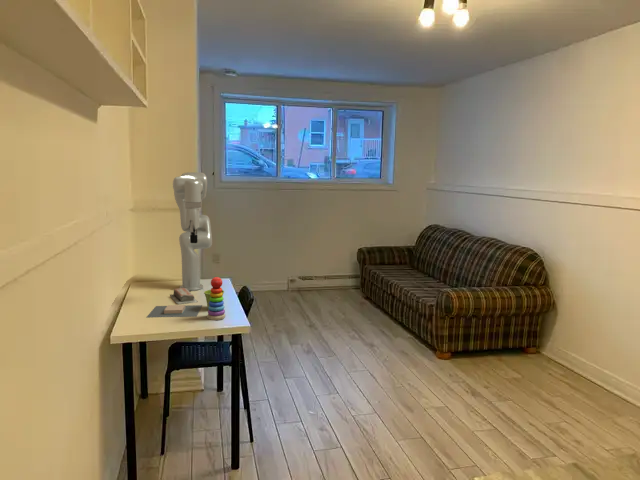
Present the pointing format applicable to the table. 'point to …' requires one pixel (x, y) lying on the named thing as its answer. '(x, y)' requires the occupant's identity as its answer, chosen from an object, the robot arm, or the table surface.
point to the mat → (189, 312)
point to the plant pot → (207, 294)
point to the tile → (174, 309)
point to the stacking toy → (216, 300)
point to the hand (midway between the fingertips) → (194, 242)
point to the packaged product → (183, 296)
